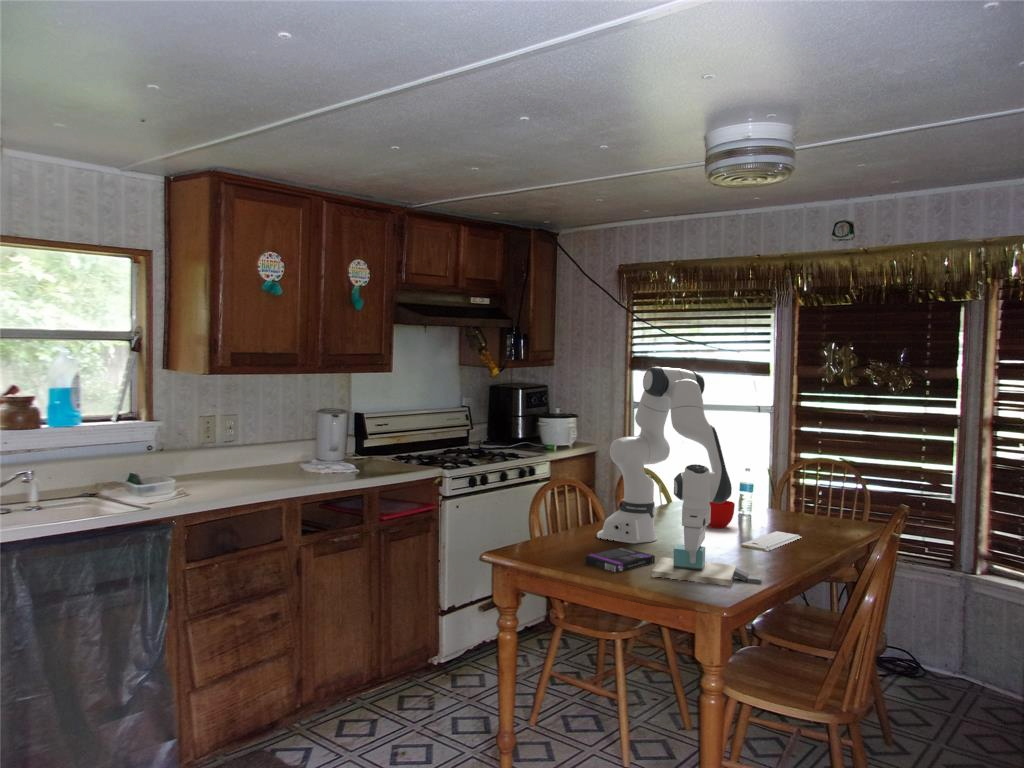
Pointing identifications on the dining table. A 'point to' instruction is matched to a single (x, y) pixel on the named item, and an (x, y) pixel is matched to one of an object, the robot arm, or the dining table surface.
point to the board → (696, 572)
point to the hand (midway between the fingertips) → (694, 559)
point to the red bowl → (721, 514)
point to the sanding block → (688, 558)
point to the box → (619, 559)
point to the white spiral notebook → (771, 541)
